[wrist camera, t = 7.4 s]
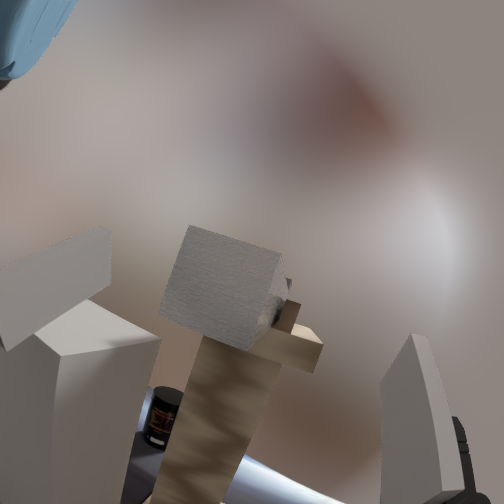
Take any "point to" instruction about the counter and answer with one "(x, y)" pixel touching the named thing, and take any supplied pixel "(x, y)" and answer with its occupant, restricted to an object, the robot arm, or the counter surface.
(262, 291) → the steel bar
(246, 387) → the stand
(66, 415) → the block
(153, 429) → the supplement container
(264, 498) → the counter surface
